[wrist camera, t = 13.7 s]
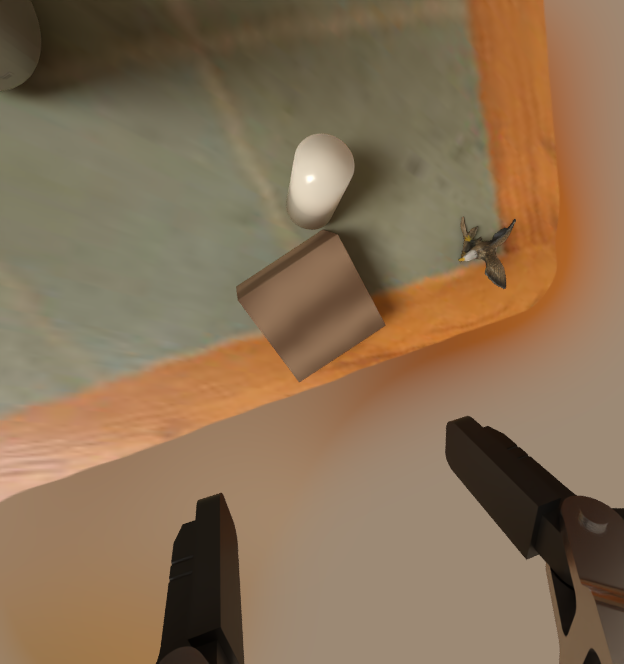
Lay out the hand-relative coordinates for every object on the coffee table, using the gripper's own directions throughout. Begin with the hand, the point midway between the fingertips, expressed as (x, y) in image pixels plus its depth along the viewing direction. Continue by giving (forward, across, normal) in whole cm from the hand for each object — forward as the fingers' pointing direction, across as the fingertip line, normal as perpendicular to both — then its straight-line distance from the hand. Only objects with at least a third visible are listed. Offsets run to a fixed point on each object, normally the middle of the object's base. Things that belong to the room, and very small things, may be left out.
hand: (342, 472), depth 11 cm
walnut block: (+30, -5, +4) cm, 31 cm away
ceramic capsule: (+22, -7, -10) cm, 26 cm away
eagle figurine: (+30, -28, +2) cm, 41 cm away
